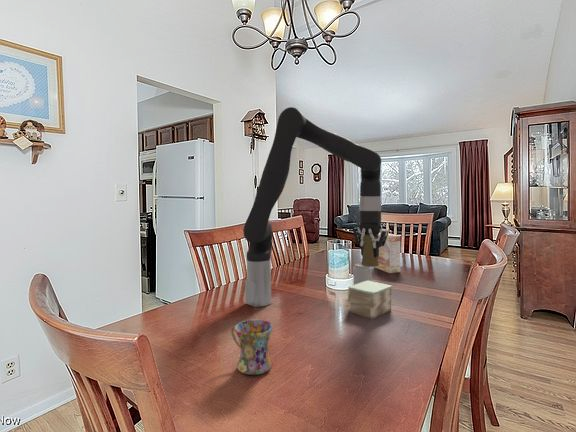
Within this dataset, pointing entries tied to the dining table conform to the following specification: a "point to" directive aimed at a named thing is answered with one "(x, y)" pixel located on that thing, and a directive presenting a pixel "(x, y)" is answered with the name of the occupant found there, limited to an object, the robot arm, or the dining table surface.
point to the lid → (370, 287)
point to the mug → (253, 346)
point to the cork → (369, 252)
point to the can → (361, 273)
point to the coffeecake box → (390, 254)
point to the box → (369, 303)
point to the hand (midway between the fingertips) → (369, 257)
